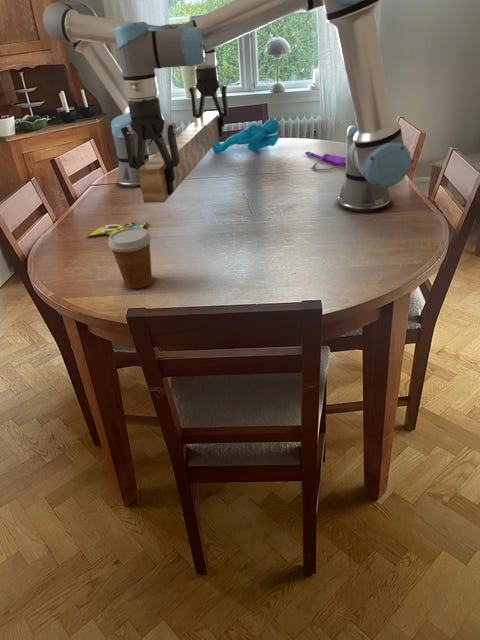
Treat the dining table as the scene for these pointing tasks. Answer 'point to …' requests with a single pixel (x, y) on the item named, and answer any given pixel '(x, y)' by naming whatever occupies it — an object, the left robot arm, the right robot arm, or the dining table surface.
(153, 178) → the post
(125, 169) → the left robot arm
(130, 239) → the disposable coffee cup
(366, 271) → the dining table surface
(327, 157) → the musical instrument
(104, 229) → the toy
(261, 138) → the toy
